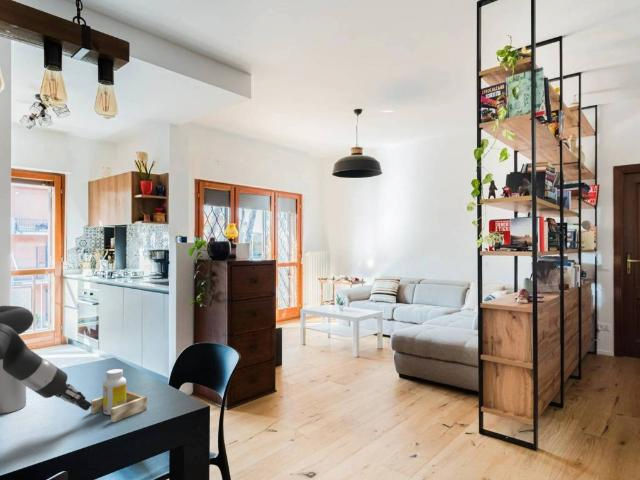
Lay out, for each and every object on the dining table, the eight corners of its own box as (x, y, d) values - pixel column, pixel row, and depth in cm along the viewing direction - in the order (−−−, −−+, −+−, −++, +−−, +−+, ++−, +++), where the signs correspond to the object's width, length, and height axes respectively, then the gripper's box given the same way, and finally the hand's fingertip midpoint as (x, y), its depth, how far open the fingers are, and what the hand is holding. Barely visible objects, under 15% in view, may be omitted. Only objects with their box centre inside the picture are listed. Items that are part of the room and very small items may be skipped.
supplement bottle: (130, 407, 132) (130, 368, 132) (119, 415, 125) (119, 374, 126) (110, 407, 132) (110, 367, 133) (98, 415, 126) (98, 374, 126)
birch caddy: (113, 422, 121) (113, 409, 121) (90, 413, 128) (90, 400, 128) (146, 409, 130) (146, 397, 130) (124, 401, 137) (124, 389, 137)
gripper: (20, 385, 112) (67, 414, 122) (44, 394, 105) (91, 424, 115) (42, 361, 116) (85, 391, 126) (66, 368, 109) (109, 399, 119)
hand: (88, 407), depth 121 cm, fingers closed
